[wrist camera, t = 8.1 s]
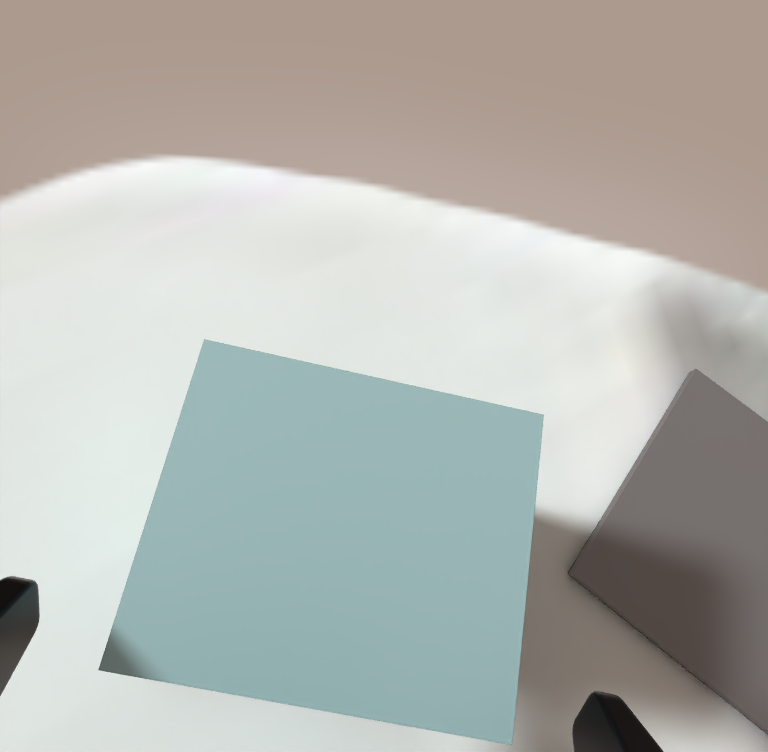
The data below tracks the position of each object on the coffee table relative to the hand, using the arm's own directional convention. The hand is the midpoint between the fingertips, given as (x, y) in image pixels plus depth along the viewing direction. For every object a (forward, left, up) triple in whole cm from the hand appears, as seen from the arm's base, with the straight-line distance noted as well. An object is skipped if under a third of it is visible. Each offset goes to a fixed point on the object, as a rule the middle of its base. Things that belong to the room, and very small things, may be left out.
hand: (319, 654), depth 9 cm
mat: (-3, -16, -10) cm, 19 cm away
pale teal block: (+2, -1, -10) cm, 10 cm away
